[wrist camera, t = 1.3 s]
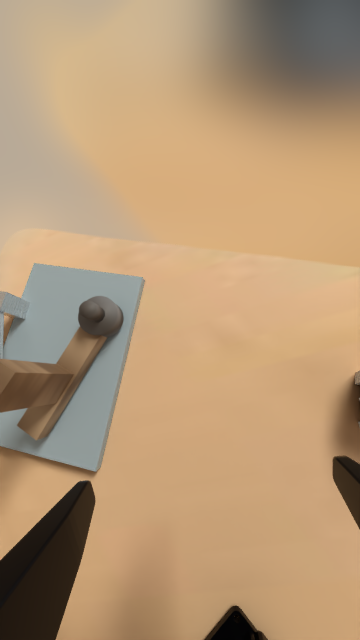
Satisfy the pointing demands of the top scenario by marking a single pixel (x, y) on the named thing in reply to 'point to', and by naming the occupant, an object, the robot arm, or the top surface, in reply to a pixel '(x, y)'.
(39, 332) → the board
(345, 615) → the top surface
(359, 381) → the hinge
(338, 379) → the top surface
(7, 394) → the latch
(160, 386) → the top surface
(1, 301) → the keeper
